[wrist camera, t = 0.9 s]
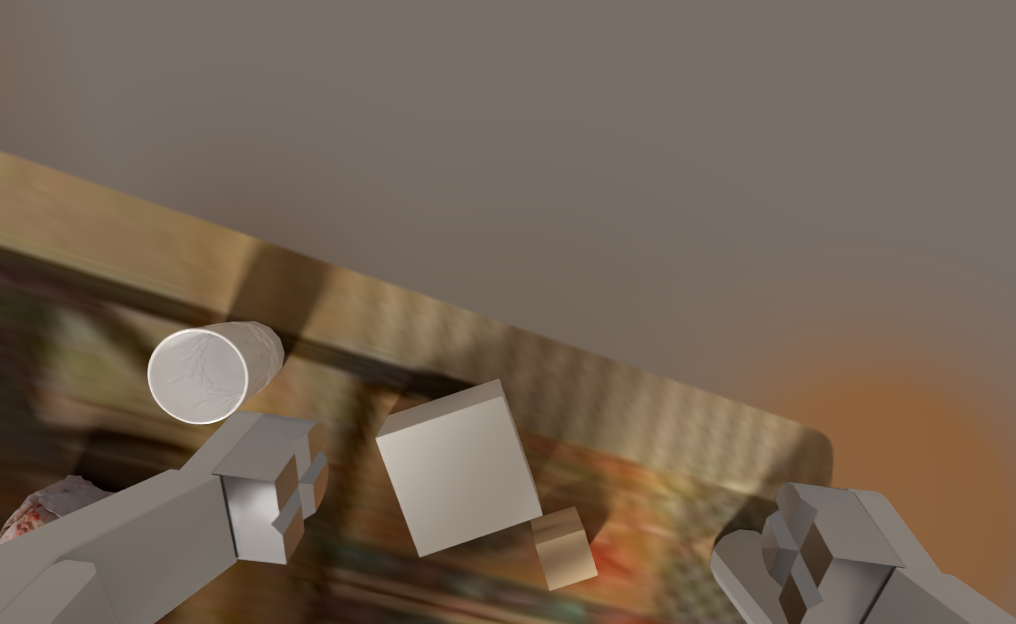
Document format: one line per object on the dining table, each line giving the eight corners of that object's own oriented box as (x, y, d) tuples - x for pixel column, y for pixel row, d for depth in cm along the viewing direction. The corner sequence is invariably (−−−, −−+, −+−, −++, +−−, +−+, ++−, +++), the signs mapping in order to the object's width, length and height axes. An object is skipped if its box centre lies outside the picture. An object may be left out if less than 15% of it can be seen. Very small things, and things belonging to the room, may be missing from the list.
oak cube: (587, 547, 57) (598, 575, 52) (543, 561, 57) (549, 590, 52) (574, 505, 56) (584, 529, 52) (529, 519, 56) (535, 545, 51)
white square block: (534, 483, 56) (542, 515, 49) (426, 519, 56) (419, 557, 49) (499, 377, 55) (502, 395, 48) (388, 415, 54) (375, 438, 47)
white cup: (288, 313, 53) (244, 327, 43) (293, 391, 53) (251, 422, 43) (206, 315, 52) (142, 329, 42) (212, 393, 53) (151, 426, 43)
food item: (42, 522, 53) (-56, 582, 44) (85, 459, 53) (-4, 505, 43) (161, 592, 55) (93, 665, 45) (204, 531, 54) (144, 592, 45)
